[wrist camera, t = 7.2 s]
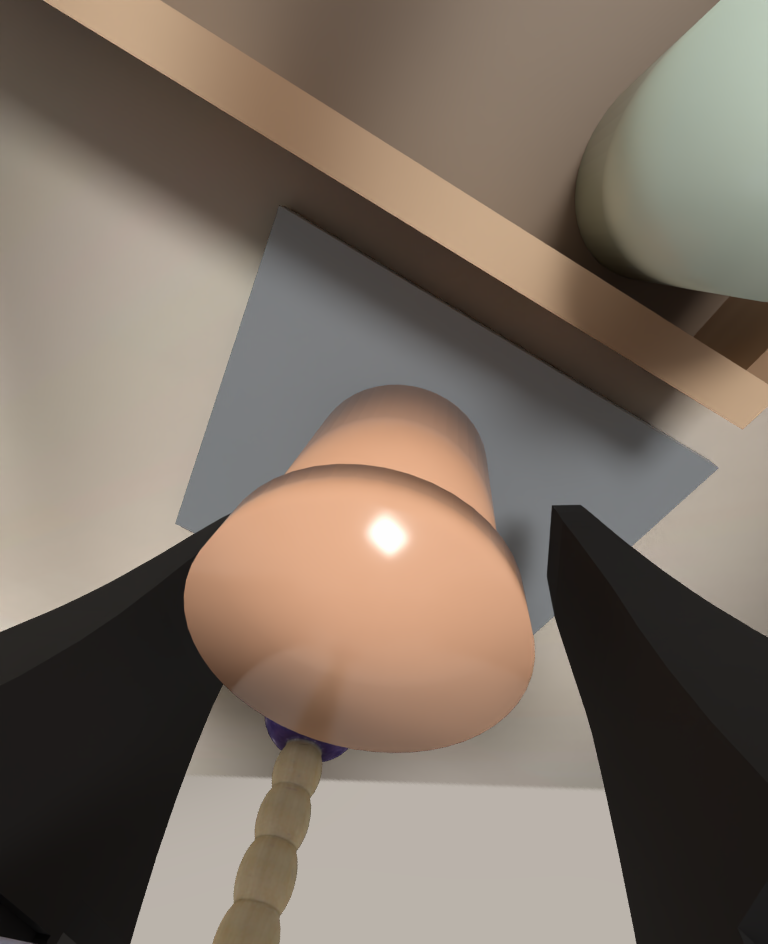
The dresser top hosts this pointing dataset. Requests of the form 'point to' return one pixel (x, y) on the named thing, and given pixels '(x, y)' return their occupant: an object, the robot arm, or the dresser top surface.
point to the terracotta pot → (369, 584)
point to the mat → (437, 370)
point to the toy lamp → (276, 840)
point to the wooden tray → (464, 141)
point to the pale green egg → (687, 163)
